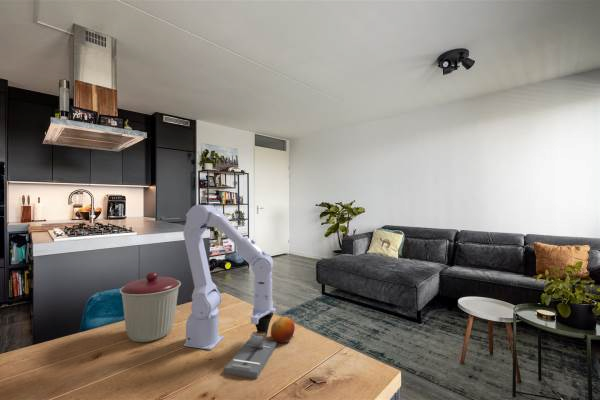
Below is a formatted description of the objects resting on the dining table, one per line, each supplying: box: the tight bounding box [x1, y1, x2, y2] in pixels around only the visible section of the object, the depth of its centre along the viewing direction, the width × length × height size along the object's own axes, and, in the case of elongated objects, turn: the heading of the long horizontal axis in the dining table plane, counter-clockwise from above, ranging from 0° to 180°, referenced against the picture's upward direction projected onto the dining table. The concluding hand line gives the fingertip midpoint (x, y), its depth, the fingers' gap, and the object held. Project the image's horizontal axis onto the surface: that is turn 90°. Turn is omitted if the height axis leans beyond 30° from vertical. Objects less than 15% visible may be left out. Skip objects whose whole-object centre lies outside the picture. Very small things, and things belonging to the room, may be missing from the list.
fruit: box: [270, 316, 296, 344], centre depth 89 cm, size 8×8×8 cm
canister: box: [119, 271, 182, 343], centre depth 91 cm, size 18×18×21 cm
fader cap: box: [250, 330, 267, 348], centre depth 81 cm, size 4×2×4 cm, turn 77°
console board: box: [224, 337, 277, 380], centre depth 77 cm, size 9×16×2 cm, turn 167°
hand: (262, 337), depth 85 cm, fingers closed
